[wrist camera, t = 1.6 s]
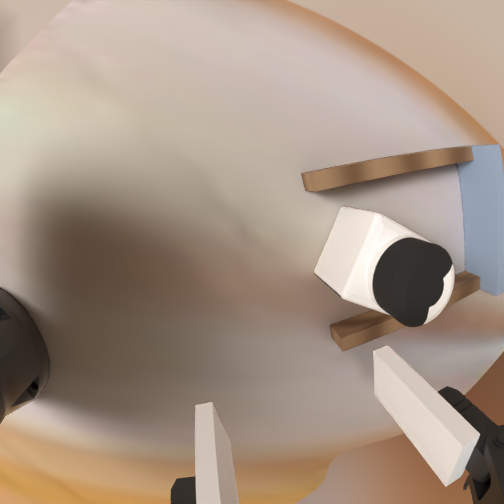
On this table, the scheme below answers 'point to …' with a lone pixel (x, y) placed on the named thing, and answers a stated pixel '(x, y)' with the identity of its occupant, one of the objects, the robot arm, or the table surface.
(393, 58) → the table surface
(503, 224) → the end stop
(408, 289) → the medicine bottle
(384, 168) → the guide channel
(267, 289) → the table surface
